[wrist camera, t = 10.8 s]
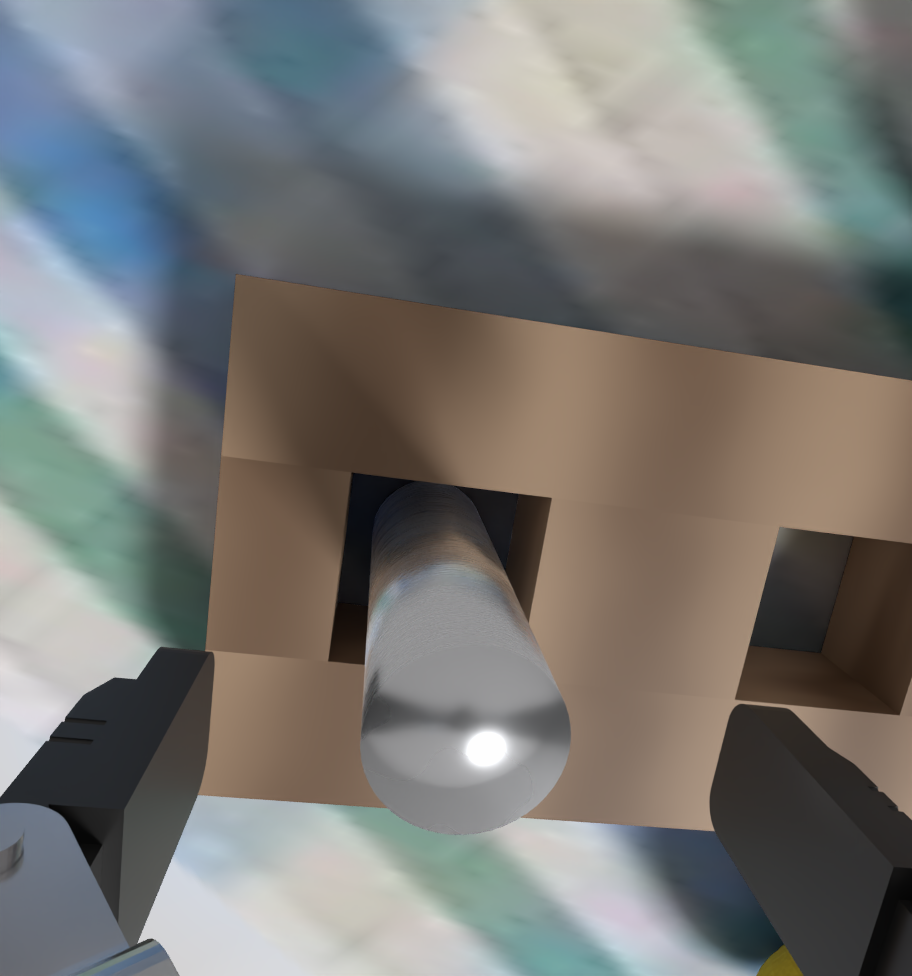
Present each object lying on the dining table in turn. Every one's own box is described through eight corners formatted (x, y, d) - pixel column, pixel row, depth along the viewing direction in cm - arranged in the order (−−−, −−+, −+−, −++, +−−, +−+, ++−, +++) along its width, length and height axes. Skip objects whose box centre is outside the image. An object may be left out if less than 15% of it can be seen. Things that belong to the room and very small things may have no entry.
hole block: (987, 394, 21) (1105, 411, 17) (870, 769, 23) (952, 847, 20) (264, 280, 18) (235, 274, 15) (225, 715, 21) (193, 794, 17)
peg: (490, 487, 20) (588, 657, 10) (473, 590, 21) (550, 842, 11) (380, 473, 20) (374, 635, 10) (366, 578, 20) (348, 827, 10)
